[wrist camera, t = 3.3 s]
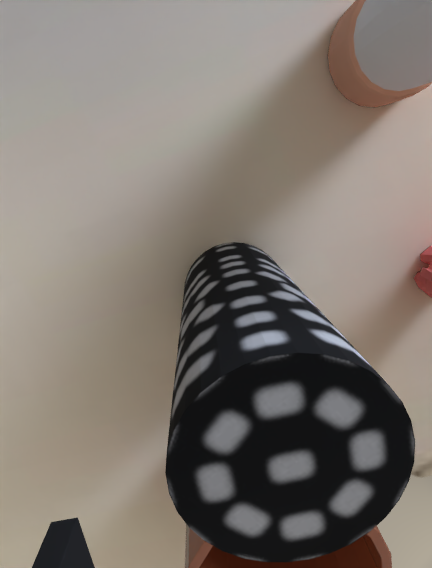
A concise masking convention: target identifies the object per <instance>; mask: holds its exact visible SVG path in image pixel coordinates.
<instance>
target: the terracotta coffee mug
mask: <svg viewBox="0 0 432 568" xmlns="http://www.w3.org/2000/svg"><path fill="white" fill-rule="evenodd" d="M185 568H392V562H391V553H390V551H389V549H388V547H387V545H386V543H385V541H384V539H383V537H382V535H381V533H380V531H379V530H378V527H377V526H376V527H374V528H373V529H372V530H371V531H370V532H369V533H367V534H366V535H364V536H363V537H361V538H359V539H358V540H356V541H355V542H353V543H352V544H350V545H348V546H346V547H343V548H341V549H339V550H337V551H335V552H332V553H330V554H326V555H323V556H319V557H316V558H312V559H309V560H302V561H294V562H261V561H255V560H250V559H244V558H240V557H238V556H235V555H232V554H229V553H226V552H224V551H221V550H220V549H218V548H216V547H214V546H213V545H211V544H209V543H207V542H206V541H204V540H203V539H202V538H201V537H200V536H198V535H197V534H196V533H195V532H194V531H193V530H192V529H190V528H189V527H188V525H187V524H186V550H185Z"/></svg>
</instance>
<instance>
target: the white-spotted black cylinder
mask: <svg viewBox="0 0 432 568" xmlns="http://www.w3.org/2000/svg"><path fill="white" fill-rule="evenodd" d="M414 453H415V438H414V433H413V428H412V423H411V420H410V418H409V415H408V413H407V411H406V409H405V407H404V405H403V402H402V401H401V400H400V399H399V397H398V396H397V395H396V394H395V392H394V391H393V390H392V389H391V387H390V386H389V385H388V384H387V383H386V382H385V381H384V379H383V378H382V377H381V376H380V375H379V374H378V373H377V372H376V371H375V370H374V369H373V368H372V367H371V365H370V364H369V363H368V362H367V361H366V360H365V359H364V358H363V357H362V356H361V355H360V354H359V352H358V351H357V350H356V349H355V348H354V347H353V346H352V345H351V344H350V343H349V342H348V341H347V340H346V338H345V337H344V336H343V335H342V334H341V333H340V332H339V331H338V330H337V329H336V328H335V327H334V325H333V324H332V323H331V322H330V321H329V320H328V319H327V318H326V317H325V316H324V315H323V314H322V313H321V311H320V310H319V309H318V308H317V307H316V306H315V305H314V304H313V303H312V302H311V301H310V300H309V298H308V297H307V296H306V295H305V294H304V293H303V292H302V291H301V290H300V289H299V288H298V287H297V286H296V284H295V283H294V282H293V281H292V280H291V279H290V278H289V277H288V276H287V275H286V274H285V273H284V271H283V270H282V269H281V268H280V267H279V266H278V265H277V264H276V263H275V262H274V261H273V260H272V259H271V257H270V256H268V255H267V254H266V253H265V252H263V251H262V250H260V249H258V248H257V247H255V246H252V245H249V244H245V243H235V242H233V243H225V244H221V245H218V246H215V247H213V248H211V249H209V250H208V251H206V252H205V253H203V254H202V255H201V256H200V257H199V258H198V259H197V260H196V261H195V262H194V264H193V265H192V266H191V268H190V270H189V272H188V274H187V278H186V282H185V288H184V297H183V307H182V316H181V325H180V335H179V344H178V353H177V362H176V372H175V381H174V390H173V400H172V409H171V418H170V428H169V437H168V446H167V458H166V478H167V484H168V490H169V494H170V496H171V498H172V501H173V503H174V505H175V508H176V510H177V512H178V513H179V515H180V516H181V517H182V519H183V520H184V521H185V523H186V524H187V525H188V527H189V528H190V529H192V530H193V531H194V532H195V533H196V534H197V535H198V536H200V537H201V538H202V539H203V540H204V541H206V542H207V543H209V544H211V545H213V546H214V547H216V548H218V549H220V550H221V551H224V552H226V553H229V554H232V555H235V556H238V557H240V558H244V559H250V560H255V561H261V562H294V561H302V560H309V559H312V558H316V557H319V556H323V555H326V554H330V553H332V552H335V551H337V550H339V549H341V548H343V547H346V546H348V545H350V544H352V543H353V542H355V541H356V540H358V539H359V538H361V537H363V536H364V535H366V534H367V533H369V532H370V531H371V530H372V529H373V528H374V527H376V526H377V525H378V524H379V523H380V522H381V521H382V520H383V519H384V518H385V517H386V516H387V515H388V514H389V512H390V511H391V510H392V509H393V507H394V506H395V505H396V503H397V502H398V501H399V499H400V497H401V495H402V493H403V491H404V489H405V488H406V486H407V483H408V482H409V478H410V475H411V471H412V467H413V464H414Z"/></svg>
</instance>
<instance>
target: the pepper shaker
mask: <svg viewBox="0 0 432 568" xmlns="http://www.w3.org/2000/svg"><path fill="white" fill-rule="evenodd" d="M328 60H329V69H330V74H331V76H332V78H333V81H334V83H335V85H336V87H337V89H338V90H339V91H340V92H341V93H342V94H343V95H344V96H345V98H346V99H348V100H350V101H352V102H354V103H355V104H357V105H359V106H366V107H373V108H375V107H379V106H384V105H388V104H391V103H394V102H397V101H399V100H402V99H405V98H407V97H410V96H413V95H415V94H416V93H418V92H420V91H421V90H423V89H425V88H426V87H428V86H429V85H430V84H431V83H432V0H356V1H355V2H354V3H353V4H352V5H351V6H350V8H349V9H348V10H347V11H346V12H345V13H344V15H343V16H342V17H341V18H340V19H339V21H338V23H337V25H336V27H335V29H334V31H333V33H332V36H331V39H330V45H329V51H328Z"/></svg>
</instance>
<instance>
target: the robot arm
mask: <svg viewBox="0 0 432 568" xmlns="http://www.w3.org/2000/svg"><path fill="white" fill-rule="evenodd" d="M32 568H95V567H94V564H93V562H92V559H91V556H90V553H89V550H88V547H87V544H86V541H85V538H84V535H83V532H82V529H81V526H80V523H79V520H78V518H73V519H67V520H61V521H56V522H51V524H50V526H49V529H48V531H47V533H46V536H45V538H44V540H43V543H42V545H41V547H40V550H39V552H38V554H37V557H36V559H35V562H34V564H33V566H32Z"/></svg>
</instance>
